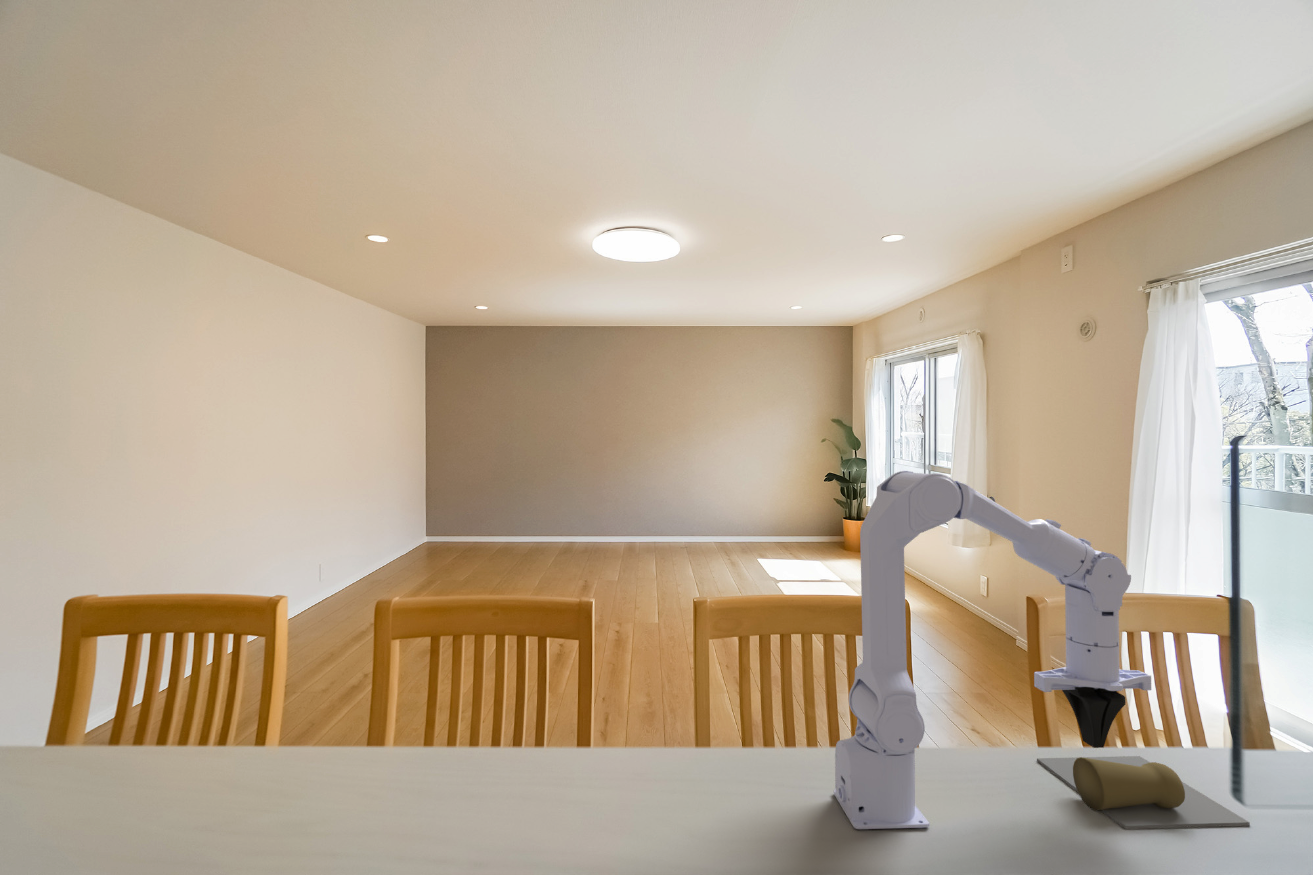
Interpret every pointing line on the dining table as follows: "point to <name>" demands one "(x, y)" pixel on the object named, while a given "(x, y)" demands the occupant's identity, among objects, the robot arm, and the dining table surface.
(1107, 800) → the cork
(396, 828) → the dining table surface
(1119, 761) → the mat
